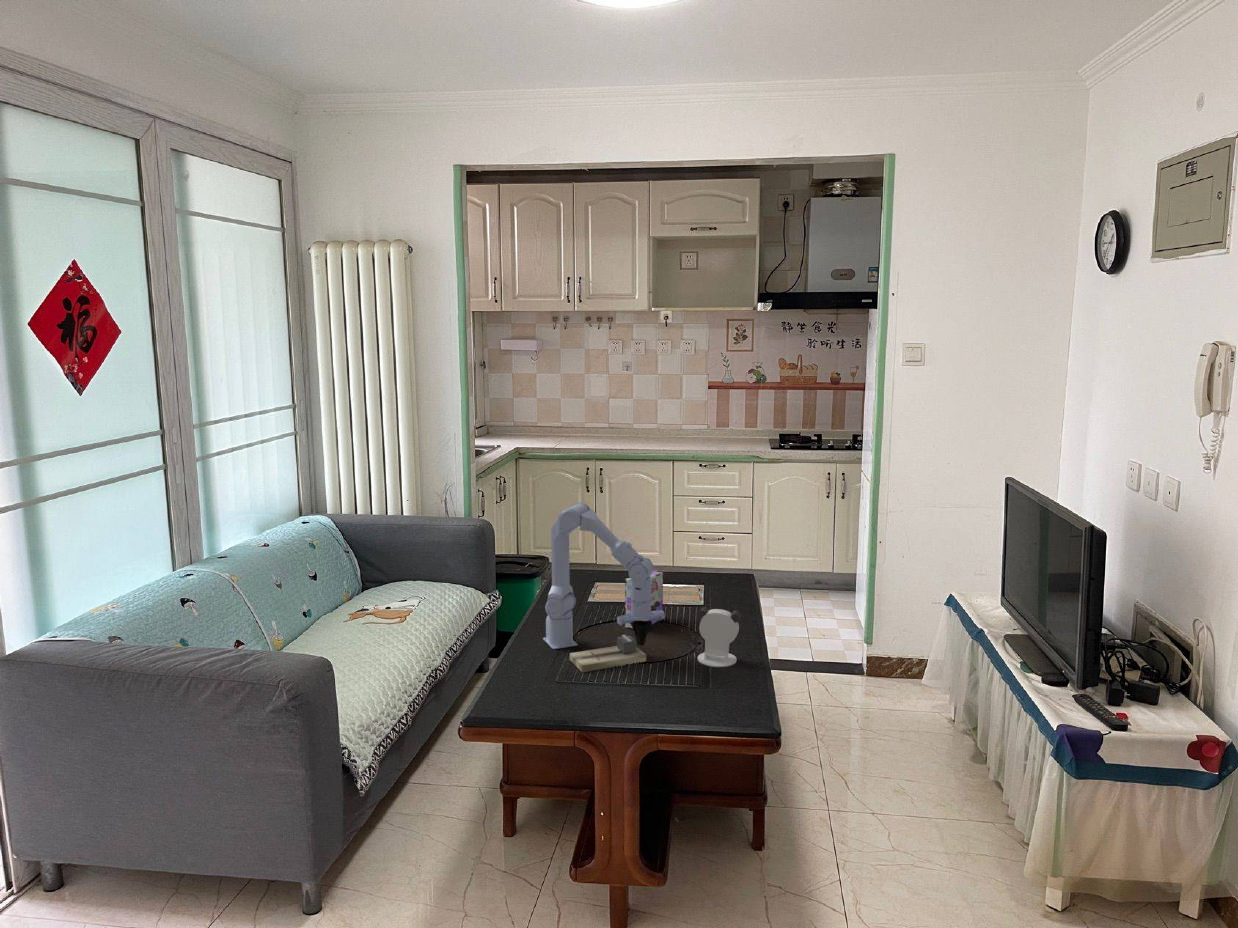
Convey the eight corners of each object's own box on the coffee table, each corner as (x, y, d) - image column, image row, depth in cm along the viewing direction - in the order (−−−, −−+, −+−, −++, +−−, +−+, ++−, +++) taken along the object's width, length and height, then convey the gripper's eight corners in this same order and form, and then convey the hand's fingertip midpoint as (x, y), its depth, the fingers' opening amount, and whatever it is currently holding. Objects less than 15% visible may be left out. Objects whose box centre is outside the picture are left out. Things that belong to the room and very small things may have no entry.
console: (569, 659, 257) (569, 652, 256) (631, 649, 265) (631, 642, 264) (582, 672, 248) (582, 665, 247) (646, 661, 256) (646, 654, 255)
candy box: (638, 631, 280) (639, 581, 277) (624, 627, 283) (624, 578, 281) (663, 619, 291) (663, 571, 288) (648, 616, 294) (649, 568, 291)
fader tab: (617, 647, 260) (617, 635, 259) (629, 645, 261) (629, 633, 261) (623, 653, 255) (624, 641, 254) (636, 651, 257) (636, 639, 256)
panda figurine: (741, 654, 261) (742, 606, 259) (735, 669, 250) (737, 618, 248) (701, 650, 264) (702, 602, 262) (694, 664, 253) (695, 614, 251)
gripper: (624, 607, 251) (623, 652, 253) (669, 600, 257) (668, 645, 259) (614, 600, 257) (614, 644, 260) (658, 594, 263) (658, 637, 265)
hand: (640, 644), depth 260 cm, fingers closed
